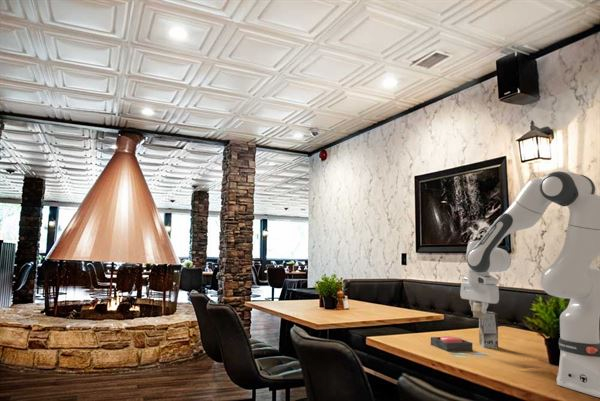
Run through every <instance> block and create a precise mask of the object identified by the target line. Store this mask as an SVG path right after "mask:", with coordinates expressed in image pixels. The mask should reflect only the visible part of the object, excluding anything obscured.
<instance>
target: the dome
mask: <svg viewBox="0 0 600 401" xmlns="http://www.w3.org/2000/svg"><path fill="white" fill-rule="evenodd" d="M439 337H440V340H441V341H444V342H447V343H462V340H463V338H460V337H456V336H449V335H448V336H447V335H445V336H439Z"/></svg>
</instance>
